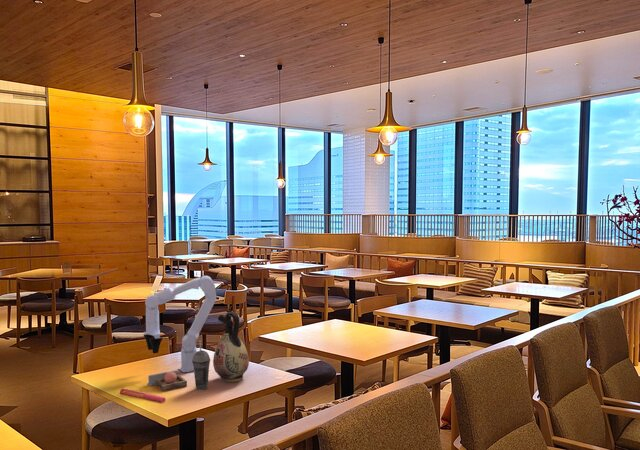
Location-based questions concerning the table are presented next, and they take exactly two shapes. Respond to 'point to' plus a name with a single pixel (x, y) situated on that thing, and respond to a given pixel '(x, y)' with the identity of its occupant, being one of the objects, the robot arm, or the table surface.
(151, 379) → the partition
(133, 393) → the pink long bar
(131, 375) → the table surface
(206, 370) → the beverage cup
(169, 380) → the ball
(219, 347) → the ceramic jug
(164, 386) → the tray
